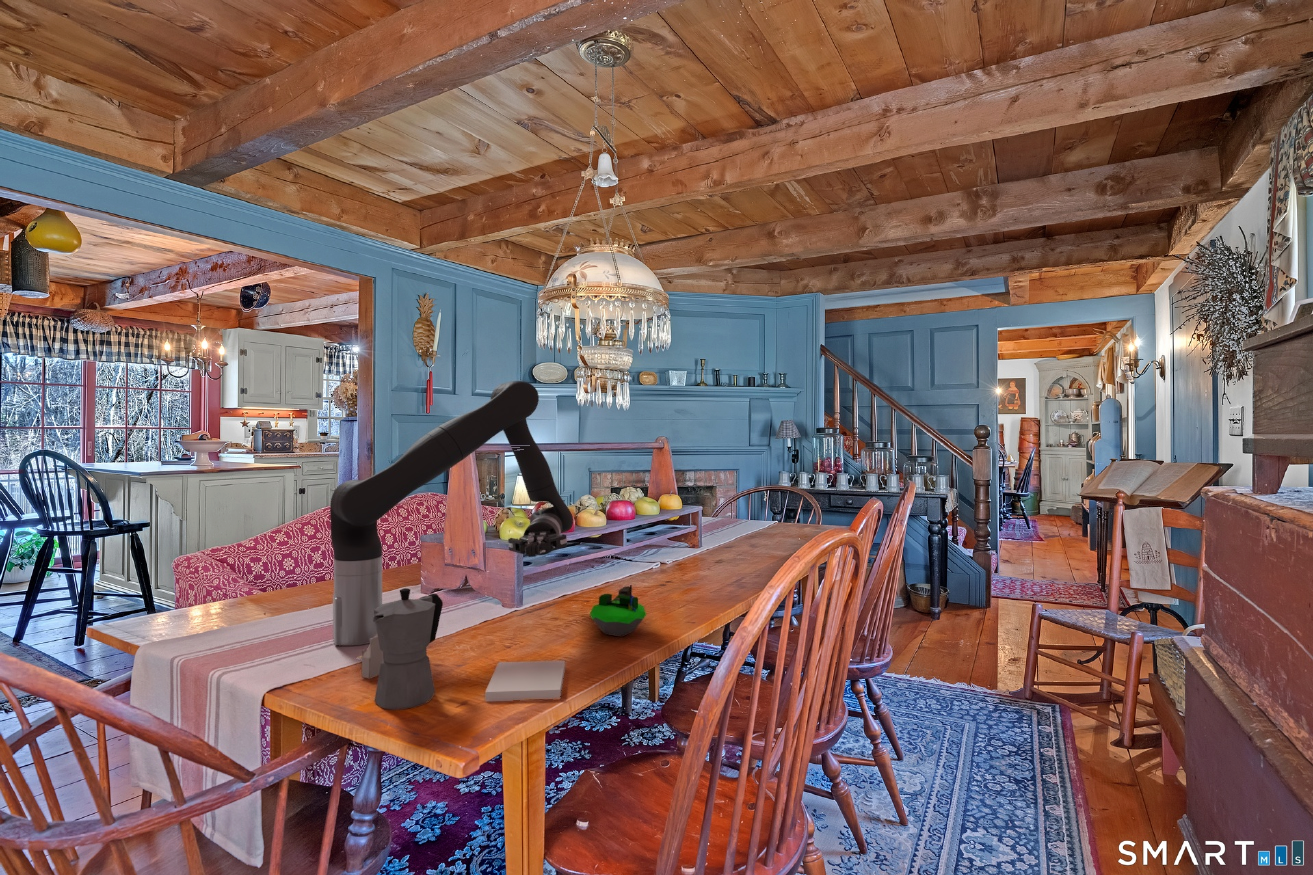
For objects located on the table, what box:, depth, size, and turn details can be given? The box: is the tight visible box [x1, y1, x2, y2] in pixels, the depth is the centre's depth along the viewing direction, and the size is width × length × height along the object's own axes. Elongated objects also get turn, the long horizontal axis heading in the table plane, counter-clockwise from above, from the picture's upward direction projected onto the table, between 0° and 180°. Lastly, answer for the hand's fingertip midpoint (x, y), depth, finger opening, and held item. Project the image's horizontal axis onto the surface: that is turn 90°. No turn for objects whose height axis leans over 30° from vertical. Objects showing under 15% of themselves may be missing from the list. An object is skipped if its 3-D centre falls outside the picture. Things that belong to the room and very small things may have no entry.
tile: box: [484, 660, 566, 702], centre depth 116 cm, size 12×2×14 cm
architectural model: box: [356, 633, 383, 679], centre depth 122 cm, size 3×7×7 cm, turn 156°
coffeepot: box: [373, 587, 444, 711], centre depth 110 cm, size 15×9×18 cm, turn 159°
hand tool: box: [612, 585, 630, 601], centre depth 163 cm, size 19×4×5 cm, turn 165°
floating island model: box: [589, 584, 647, 637], centre depth 145 cm, size 12×12×11 cm
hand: (531, 551), depth 134 cm, fingers closed
